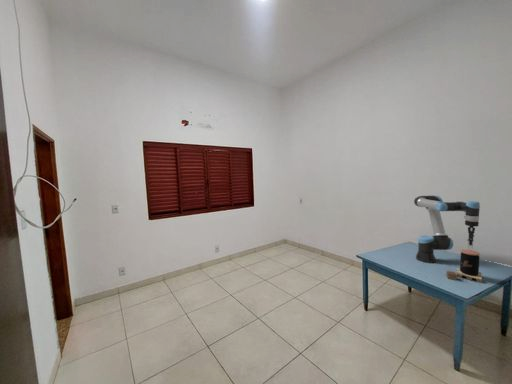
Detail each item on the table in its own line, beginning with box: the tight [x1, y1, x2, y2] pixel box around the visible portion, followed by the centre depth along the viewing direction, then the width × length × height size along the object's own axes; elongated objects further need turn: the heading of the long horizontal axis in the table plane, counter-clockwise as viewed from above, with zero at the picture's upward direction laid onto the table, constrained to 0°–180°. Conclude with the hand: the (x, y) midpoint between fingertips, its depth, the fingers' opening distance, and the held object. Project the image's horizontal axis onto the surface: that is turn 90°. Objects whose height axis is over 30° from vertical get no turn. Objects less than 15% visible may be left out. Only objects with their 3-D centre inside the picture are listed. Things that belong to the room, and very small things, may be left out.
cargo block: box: [445, 270, 458, 281], centre depth 169 cm, size 5×5×5 cm
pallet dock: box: [456, 267, 483, 284], centre depth 170 cm, size 14×14×3 cm
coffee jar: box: [459, 249, 481, 276], centre depth 169 cm, size 11×11×18 cm
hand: (470, 246), depth 168 cm, fingers open, 13 cm apart
